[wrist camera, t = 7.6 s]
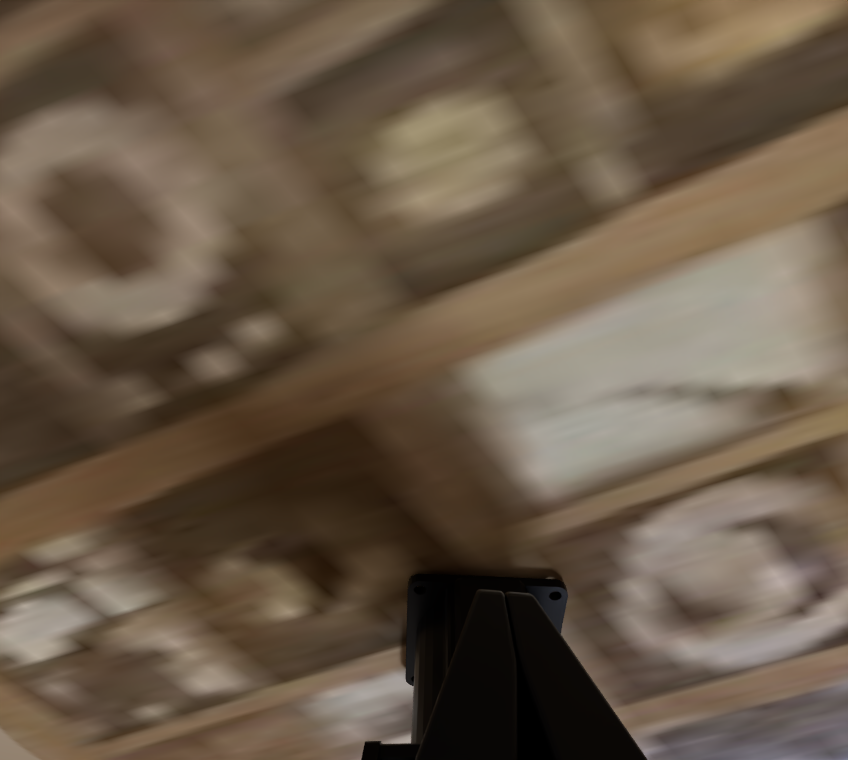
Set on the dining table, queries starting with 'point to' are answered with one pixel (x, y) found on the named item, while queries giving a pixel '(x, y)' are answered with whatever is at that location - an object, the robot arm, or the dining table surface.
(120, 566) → the dining table surface
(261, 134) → the dining table surface
